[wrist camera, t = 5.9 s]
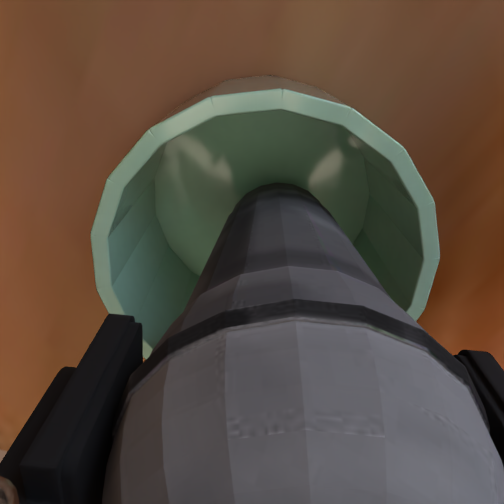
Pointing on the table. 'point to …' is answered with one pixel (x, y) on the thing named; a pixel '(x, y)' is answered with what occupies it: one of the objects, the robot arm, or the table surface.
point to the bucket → (247, 179)
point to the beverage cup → (298, 383)
